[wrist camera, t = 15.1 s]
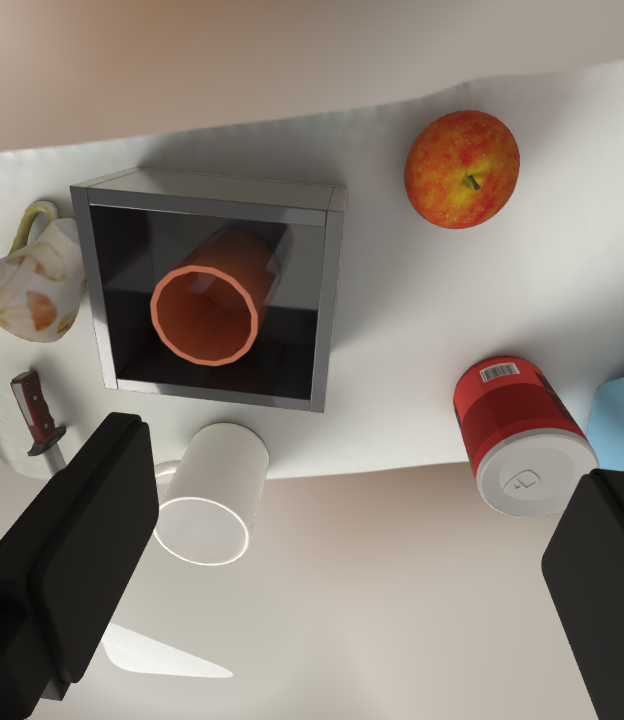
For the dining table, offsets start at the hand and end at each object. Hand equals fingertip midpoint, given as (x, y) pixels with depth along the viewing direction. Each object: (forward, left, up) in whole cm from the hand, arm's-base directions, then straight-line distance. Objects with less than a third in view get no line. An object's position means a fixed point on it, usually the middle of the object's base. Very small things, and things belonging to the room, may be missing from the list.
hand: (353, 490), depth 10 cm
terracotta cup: (+9, +5, -27) cm, 29 cm away
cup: (+12, +25, -28) cm, 40 cm away
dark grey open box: (+9, +5, -28) cm, 30 cm away
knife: (+28, +25, -28) cm, 47 cm away
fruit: (-6, -4, -28) cm, 29 cm away
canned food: (-14, +14, -28) cm, 35 cm away
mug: (+24, +6, -28) cm, 38 cm away
